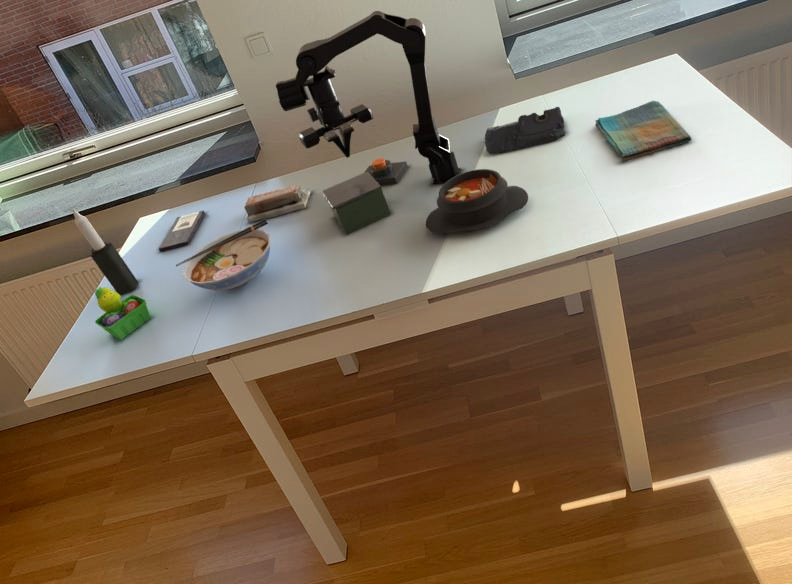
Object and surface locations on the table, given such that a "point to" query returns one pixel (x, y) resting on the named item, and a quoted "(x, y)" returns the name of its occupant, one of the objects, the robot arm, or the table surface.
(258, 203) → the packaged product
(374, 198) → the dark green boxy piece
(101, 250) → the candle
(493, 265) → the table surface
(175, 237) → the chocolate bar
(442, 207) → the casserole
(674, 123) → the dish towel
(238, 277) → the ramen bowl
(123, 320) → the fruit basket
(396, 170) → the pad
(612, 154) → the table surface
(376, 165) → the button
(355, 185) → the grey flat plate
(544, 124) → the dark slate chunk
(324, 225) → the table surface
